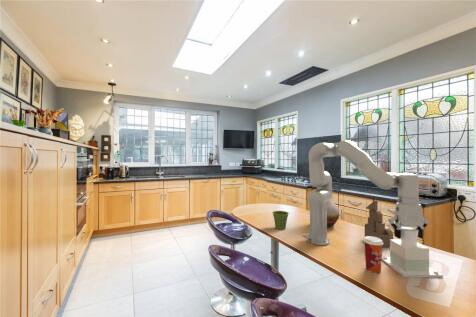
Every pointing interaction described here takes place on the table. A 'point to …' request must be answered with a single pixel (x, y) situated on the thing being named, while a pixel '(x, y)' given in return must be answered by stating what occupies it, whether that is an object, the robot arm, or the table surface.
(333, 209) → the jug
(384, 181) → the robot arm
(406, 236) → the white cylinder
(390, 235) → the wooden toy
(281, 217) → the plant pot
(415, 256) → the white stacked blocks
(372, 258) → the paper cup
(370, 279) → the table surface
